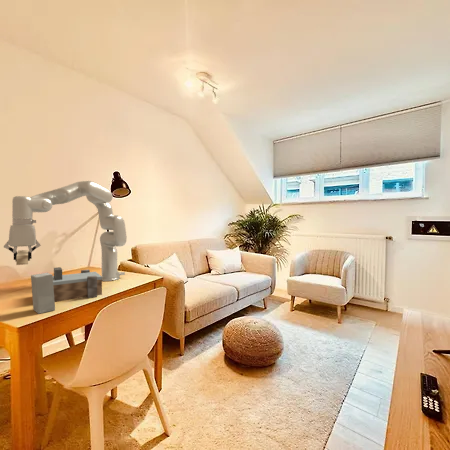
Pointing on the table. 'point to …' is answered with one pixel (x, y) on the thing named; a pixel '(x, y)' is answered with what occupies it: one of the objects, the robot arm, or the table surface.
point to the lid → (71, 277)
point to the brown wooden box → (78, 289)
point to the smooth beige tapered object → (22, 257)
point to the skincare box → (43, 292)
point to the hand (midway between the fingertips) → (22, 260)
